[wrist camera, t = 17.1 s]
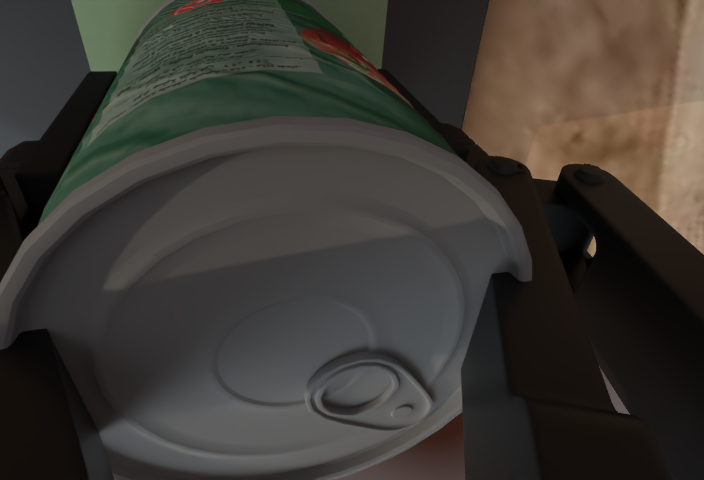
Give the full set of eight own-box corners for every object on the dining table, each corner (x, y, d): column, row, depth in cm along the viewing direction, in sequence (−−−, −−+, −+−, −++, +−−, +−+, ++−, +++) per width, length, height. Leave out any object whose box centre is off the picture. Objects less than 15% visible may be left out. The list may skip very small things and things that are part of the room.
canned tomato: (70, 113, 14) (-151, 439, 6) (237, -92, 12) (291, -76, 4) (260, 240, 19) (300, 524, 10) (404, 106, 17) (602, 322, 8)
